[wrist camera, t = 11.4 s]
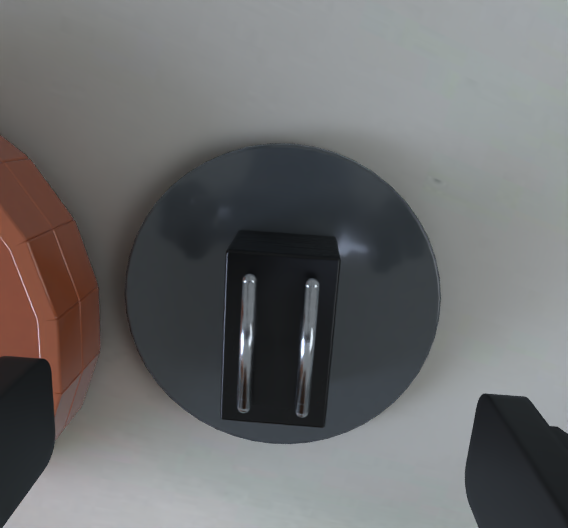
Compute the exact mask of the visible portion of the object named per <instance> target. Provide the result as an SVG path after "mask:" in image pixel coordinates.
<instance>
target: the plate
mask: <svg viewBox="0 0 568 528" xmlns="http://www.w3.org/2000/svg"><path fill="white" fill-rule="evenodd" d="M239 230H247V231H261V232H275V233H289V234H303V235H317V236H332V237H335V238H336V240H337V245H338V249H339V254H340V258H341V266H340V276H339V287H338V298H337V308H336V319H335V329H334V340H333V351H332V361H331V372H330V382H329V393H328V404H327V414H326V425H325V426H324V428H317V427H305V426H292V425H280V424H268V423H255V422H243V421H230V420H222V419H221V418H220V399H221V370H222V341H223V313H224V284H225V256H226V250H227V249H228V247H229V245H230V244H231V242H232V241H233V239H234V237H235V236H236V234H237V232H238V231H239ZM125 301H126V313H127V317H128V322H129V326H130V331H131V334H132V337H133V340H134V342H135V345H136V348H137V350H138V352H139V354H140V356H141V358H142V360H143V362H144V364H145V366H146V368H147V369H148V371H149V372H150V373H151V375H152V376H153V378H154V379H155V381H156V382H157V383H158V384H159V386H160V387H161V388H162V389H163V390H164V391H165V392H166V393H167V395H168V396H169V397H170V398H171V399H173V400H174V401H175V402H176V403H177V404H178V405H179V406H180V407H182V408H183V409H184V410H185V411H187V412H188V413H190V414H191V415H193V416H194V417H196V418H197V419H198V420H200V421H202V422H204V423H206V424H208V425H209V426H211V427H213V428H215V429H217V430H220V431H222V432H225V433H228V434H230V435H233V436H236V437H240V438H244V439H248V440H251V441H257V442H264V443H272V444H296V443H307V442H313V441H318V440H323V439H328V438H331V437H334V436H337V435H340V434H343V433H346V432H348V431H350V430H352V429H355V428H357V427H359V426H361V425H363V424H365V423H366V422H368V421H369V420H371V419H373V418H374V417H376V416H377V415H379V414H380V413H382V412H383V411H384V410H385V409H386V408H388V407H389V406H390V405H391V404H392V403H394V402H395V401H396V400H397V399H398V398H399V397H400V395H401V394H402V393H403V392H404V391H405V390H406V389H407V388H408V387H409V385H410V384H411V382H412V381H413V380H414V378H415V377H416V376H417V374H418V373H419V371H420V369H421V367H422V365H423V364H424V362H425V360H426V358H427V356H428V354H429V351H430V349H431V346H432V343H433V341H434V338H435V334H436V330H437V325H438V321H439V315H440V302H441V292H440V277H439V272H438V267H437V262H436V258H435V255H434V252H433V249H432V246H431V244H430V241H429V238H428V236H427V234H426V232H425V231H424V229H423V227H422V225H421V223H420V221H419V219H418V218H417V217H416V215H415V214H414V212H413V211H412V210H411V208H410V207H409V205H408V204H407V203H406V202H405V201H404V199H403V198H402V197H401V196H400V195H399V194H398V193H397V192H396V191H395V190H394V189H393V188H392V187H391V186H390V185H389V184H387V183H386V182H385V181H384V180H382V179H381V178H380V177H379V176H377V175H376V174H375V173H374V172H372V171H371V170H369V169H367V168H366V167H364V166H362V165H361V164H359V163H357V162H356V161H354V160H352V159H349V158H347V157H345V156H342V155H340V154H338V153H335V152H332V151H329V150H325V149H321V148H318V147H314V146H307V145H300V144H292V143H270V144H263V145H255V146H249V147H245V148H241V149H238V150H234V151H231V152H228V153H225V154H223V155H221V156H218V157H216V158H214V159H211V160H209V161H207V162H205V163H203V164H202V165H200V166H198V167H197V168H195V169H193V170H192V171H190V172H188V173H187V174H186V175H184V176H183V177H182V178H181V179H179V180H178V181H177V182H176V183H175V184H173V185H172V186H171V187H170V188H169V189H168V190H167V191H166V192H165V193H164V194H163V196H162V197H161V198H160V199H159V200H158V201H157V202H156V204H155V205H154V206H153V208H152V209H151V211H150V212H149V214H148V215H147V216H146V218H145V220H144V222H143V224H142V226H141V227H140V229H139V231H138V233H137V235H136V238H135V241H134V244H133V247H132V250H131V252H130V256H129V261H128V266H127V271H126V282H125Z"/></svg>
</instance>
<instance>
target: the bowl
mask: <svg viewBox="0 0 568 528" xmlns="http://www.w3.org/2000/svg"><path fill="white" fill-rule="evenodd" d="M99 354H100V315H99V287H98V283H97V280H96V277H95V275H94V272H93V269H92V266H91V263H90V261H89V258H88V255H87V252H86V250H85V247H84V244H83V241H82V238H81V236H80V233H79V230H78V227H77V224H76V222H75V220H73V217H72V216H71V214H70V213H69V211H68V210H67V209H66V207H65V206H64V205H63V203H62V202H61V200H60V199H59V198H58V196H57V195H56V194H55V192H54V191H53V190H52V188H51V187H50V185H49V184H48V183H47V181H46V180H45V179H44V177H43V176H42V174H41V173H40V172H39V170H38V169H37V168H36V166H35V165H34V164H33V162H32V161H31V160H30V159H28V157H27V156H26V155H25V154H24V153H23V152H21V151H20V150H19V149H18V148H16V147H15V146H14V145H12V144H11V143H10V142H9V141H7V140H6V139H5V138H3V137H2V136H1V135H0V357H2V356H15V357H28V358H41V359H46V360H47V361H48V362H49V364H50V367H51V372H52V386H53V401H54V417H55V440H56V439H57V438H58V436H59V435H60V434H61V433H62V431H63V430H64V429H65V427H66V426H67V425H68V424H69V422H70V421H71V420H72V419H73V417H74V416H75V415H76V413H77V412H78V411H79V410H80V408H81V407H82V405H83V402H84V399H85V396H86V393H87V390H88V387H89V384H90V381H91V378H92V375H93V372H94V369H95V366H96V363H97V360H98V357H99Z"/></svg>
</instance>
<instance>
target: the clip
mask: <svg viewBox="0 0 568 528" xmlns="http://www.w3.org/2000/svg"><path fill="white" fill-rule="evenodd" d="M340 266H341V258H340V254H339V249H338V245H337V240H336V238H335V237H332V236H317V235H303V234H289V233H275V232H261V231H247V230H239V231H238V232H237V234H236V236H235V237H234V239H233V241H232V242H231V244H230V245H229V247H228V249H227V250H226V256H225V284H224V313H223V341H222V370H221V399H220V418H221V419H222V420H230V421H243V422H255V423H268V424H280V425H292V426H305V427H317V428H324V426H325V425H326V414H327V404H328V393H329V382H330V372H331V361H332V351H333V340H334V329H335V319H336V308H337V298H338V287H339V276H340Z"/></svg>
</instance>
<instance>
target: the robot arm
mask: <svg viewBox="0 0 568 528" xmlns="http://www.w3.org/2000/svg"><path fill="white" fill-rule="evenodd" d="M54 444H55V417H54V401H53V386H52V372H51V367H50V364H49V362H48V361H47V360H46V359H41V358H28V357H15V356H2V357H0V528H2V527H3V526H4V525H5V523H6V522H7V520H8V519H9V518H10V516H11V515H12V514H13V512H14V511H15V509H16V508H17V507H18V505H19V504H20V503H21V501H22V500H23V498H24V497H25V496H26V494H27V493H28V491H29V490H30V489H31V487H32V486H33V485H34V483H35V482H36V480H37V479H38V478H39V476H40V475H41V473H42V472H43V471H44V469H45V468H46V466H47V465H48V463H49V460H50V458H51V455H52V452H53V448H54ZM465 487H466V494H467V498H468V502H469V505H470V507H471V510H472V512H473V515H474V517H475V520H476V522H477V524H478V527H479V528H568V434H567V433H566V432H564V431H563V430H561V429H560V428H559V427H554V426H549V425H548V423H547V422H546V421H545V419H544V418H543V417H542V416H541V414H540V413H539V412H538V410H537V409H536V408H535V406H534V405H533V404H532V402H531V401H530V400H529V399H528V398H527V397H523V396H510V395H497V394H482V395H481V397H480V398H479V400H478V403H477V408H476V413H475V418H474V424H473V429H472V435H471V440H470V445H469V451H468V456H467V462H466V468H465Z"/></svg>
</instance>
